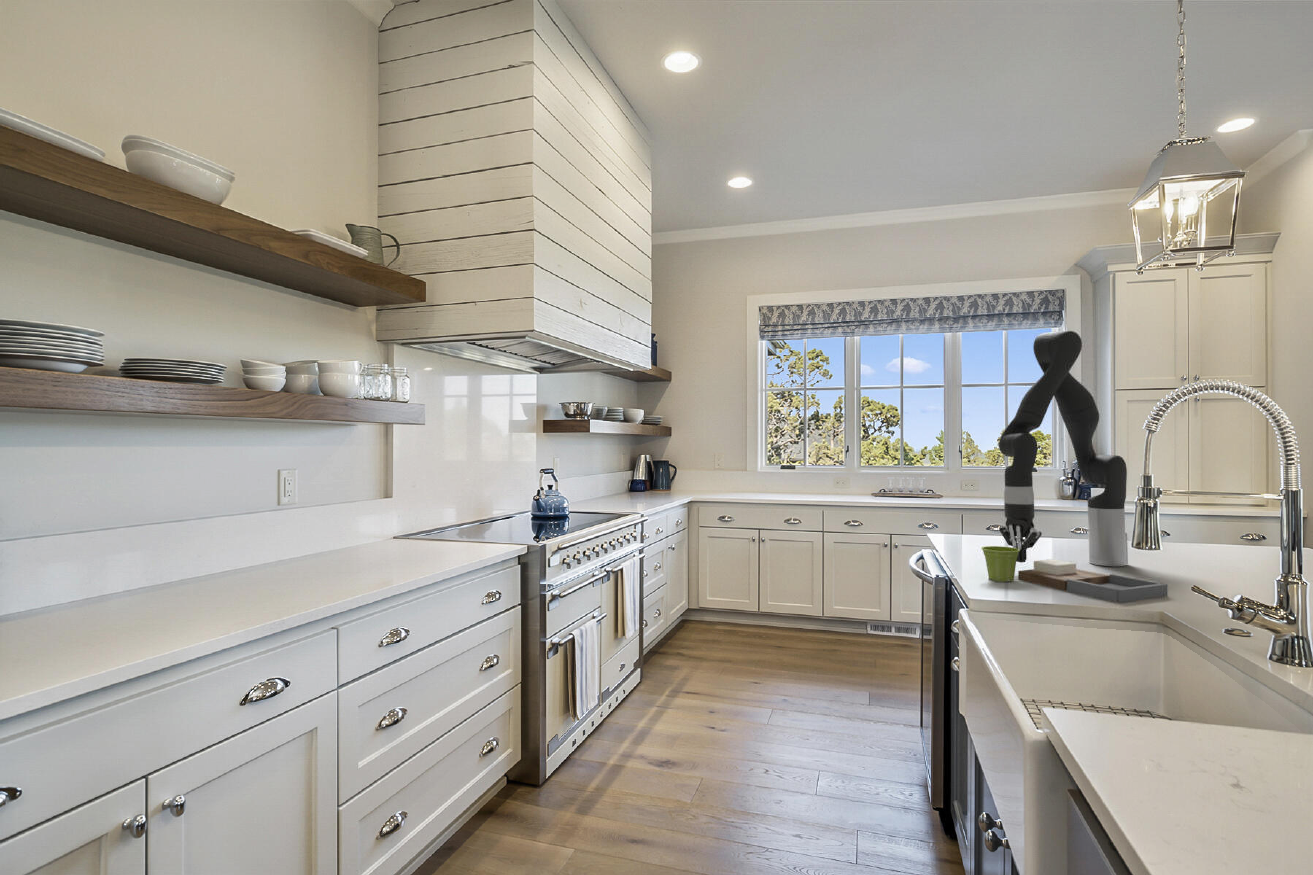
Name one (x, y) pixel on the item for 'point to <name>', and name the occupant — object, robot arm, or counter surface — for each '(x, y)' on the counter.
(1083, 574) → the brown square board
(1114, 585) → the tray
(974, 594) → the counter surface
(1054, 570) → the tile
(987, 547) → the plant pot
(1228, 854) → the counter surface
